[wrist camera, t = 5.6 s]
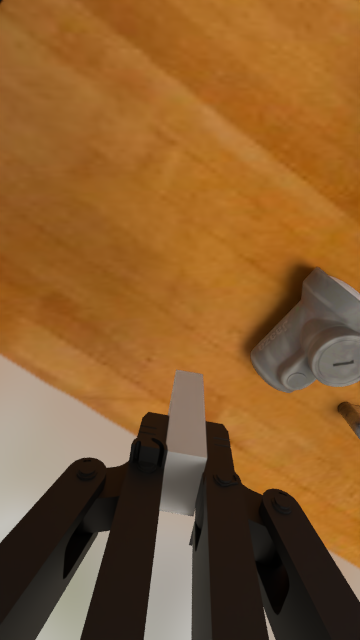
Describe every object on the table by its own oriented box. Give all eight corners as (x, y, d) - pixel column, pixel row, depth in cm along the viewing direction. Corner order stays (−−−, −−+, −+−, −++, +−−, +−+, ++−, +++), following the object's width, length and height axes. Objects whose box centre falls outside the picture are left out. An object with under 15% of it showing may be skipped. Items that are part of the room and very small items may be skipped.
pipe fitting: (310, 253, 32) (357, 288, 23) (364, 298, 34) (427, 348, 25) (232, 335, 36) (244, 392, 27) (283, 371, 38) (310, 436, 29)
